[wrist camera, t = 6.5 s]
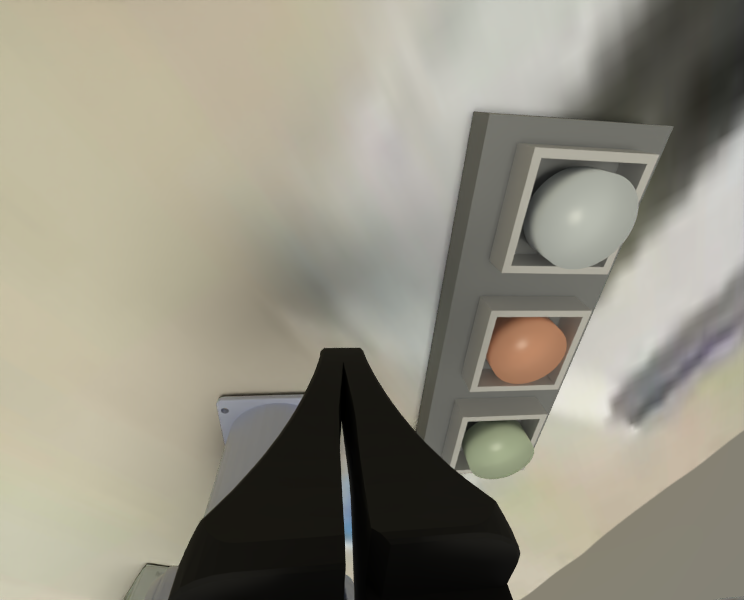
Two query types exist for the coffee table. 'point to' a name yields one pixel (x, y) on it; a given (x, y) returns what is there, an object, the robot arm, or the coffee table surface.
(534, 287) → the button panel
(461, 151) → the coffee table surface
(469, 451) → the sage button
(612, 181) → the blue-grey button
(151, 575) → the tea box
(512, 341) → the terracotta button
